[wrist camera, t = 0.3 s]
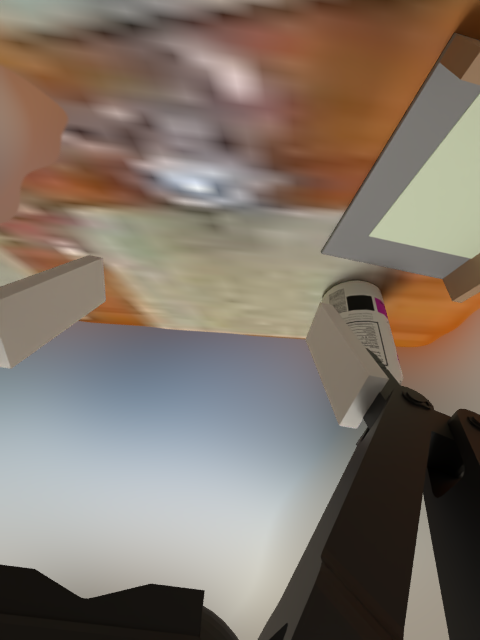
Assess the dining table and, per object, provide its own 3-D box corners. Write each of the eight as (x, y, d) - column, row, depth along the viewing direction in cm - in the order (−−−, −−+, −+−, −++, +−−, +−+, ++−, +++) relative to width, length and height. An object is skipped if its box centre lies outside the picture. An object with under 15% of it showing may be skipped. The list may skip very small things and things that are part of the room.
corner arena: (454, 32, 14) (482, 48, 12) (693, 106, 16) (754, 131, 14) (321, 251, 30) (323, 274, 28) (449, 278, 31) (461, 302, 29)
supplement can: (393, 286, 34) (424, 391, 26) (354, 314, 41) (369, 404, 33) (343, 271, 32) (361, 377, 24) (311, 303, 39) (317, 394, 31)
